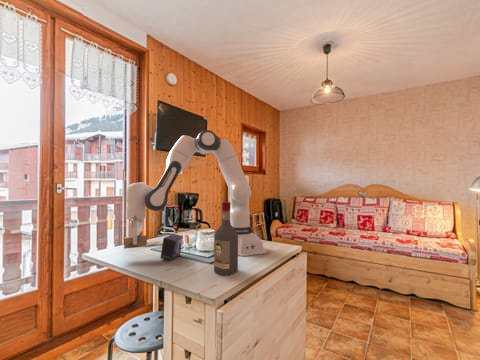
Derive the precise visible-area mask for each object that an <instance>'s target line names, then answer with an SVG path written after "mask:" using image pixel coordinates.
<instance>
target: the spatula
mask: <svg viewBox="0 0 480 360" xmlns="http://www.w3.org/2000/svg"><path fill="white" fill-rule="evenodd" d="M147 238H148V237H147V235H146V234H145V235H144V234H143V235H139V236H138V237H137V240H138V243H137V244H135V245H134V244H133V238H129V236H125V237H124V238H123V248H124V249H125V250H127V249H134V248H135V249H136V248H143V247H145V248H152V247H153V248H154V247H162V245H163V240H160V241H158V240H157V241H148V239H147Z"/></svg>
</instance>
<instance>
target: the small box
mask: <svg viewBox="0 0 480 360" xmlns="http://www.w3.org/2000/svg"><path fill="white" fill-rule="evenodd" d="M183 238H184V235H179V234H176V233H172V234H169V235H167V236H165V237H163V238H162V241H163V245H162V246H161V253H160V259H162V260H165V261H173V260H175V259H177V258H178V257H179V256H180V255H181V253H182V245H183Z"/></svg>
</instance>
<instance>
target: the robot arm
mask: <svg viewBox="0 0 480 360" xmlns="http://www.w3.org/2000/svg"><path fill="white" fill-rule="evenodd" d="M211 153H212V154H213V155H214V156H215V158H216V160H217V163H218V166H219V168H220V172H221V174H222V176H223V178H224V181H225V184H226V186H227V187H228V191H229V202H230V223H231V225H232V227H233V228H234V229H235V230H236V231H237V234H238V256H241V257H248V256H257V255H261V254H267V253H268V248H266V247H265V246H264V243H263V240H262V239H261V238H260V236H258V235H256V234H255V233H254V232H255V231H256V228H255V227H252V226H251V224H250V223H251V222H250V220H251V219H250V215H251V214H250V213H251V212H250V201H249V199H250V197H251V196H252V190H251V189H252V188H251V187H250V183H249V182H248V179H247V177H246V175H245V173H244V171H243V169H242V167H241V163H240V160H239V158H238V156H237V154H236V151H235V149H234V147H233V145H232V143H230V141H229V140H228V139H221V138H220V137H219V136H218V135H216V133H215V132H214V131H213V130H210V129H209V130H208V129H205V130H202V131H200V132H199V133H198V135H197V136H196V137H192V136H190V135H181V136H180V137H179V139H178V140H177V141H176V142H175V143H174V145H173V146H172V148H171V149H170V151H169V153H168V156H167V158H166V161H165V169H164V172H163V175H162V176H161V178H160V179H159V181H158V183H157V185H156V186H155V187H152V186H150V185H148V184H147V183H145V182H142V181H141V182H140V181H139V182H135V183H134V182H133V183H131V184H129V185H128V187H127V189H126V203H127V205H126V220H129V221H128V222H129V223H128V237H129V238H133V244H134V245H135V244H137V243H138V240H137V237H138V236H141V234H140V233H141V232H142V231H143V229H144V223H145V219H147V209H149V210H150V211H153V212H158V211H161V210H163V209H165V208H166V207H167V205H168V200H169V199H168V198H169V192H170V191H171V189H172V187H173V185H174V184H175V182H176V180H177V179H178V178H177V177H179V175H181V173H182V172H183V171H184V169H185V168H186V167H187V166H188V164H189V162H190V161H191V159H192V157H193V156H194V155H195V154H198V155H201V156H202V155H203V156H208V155H210V154H211Z"/></svg>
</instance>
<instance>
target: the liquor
mask: <svg viewBox="0 0 480 360" xmlns="http://www.w3.org/2000/svg"><path fill="white" fill-rule="evenodd" d="M221 206H222V207H221V209H222V217H221V219H222V220H221V225H219V227H218V228H217V229H216V230H215V231H214V235H213V238H214V239H213V242H214V245H213V248H214V249H213V256H214V257H213V271H214V274H218V275H220V276H223V277H224V276H230V275H234V274H235V273H238V269H239V265H238V263H239V257H238V256H239V255H238V234H237V231H236V230H235V229H234V228H233V227H232V225H231V223H230V201H229V202H225V201H224V202H221Z"/></svg>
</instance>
